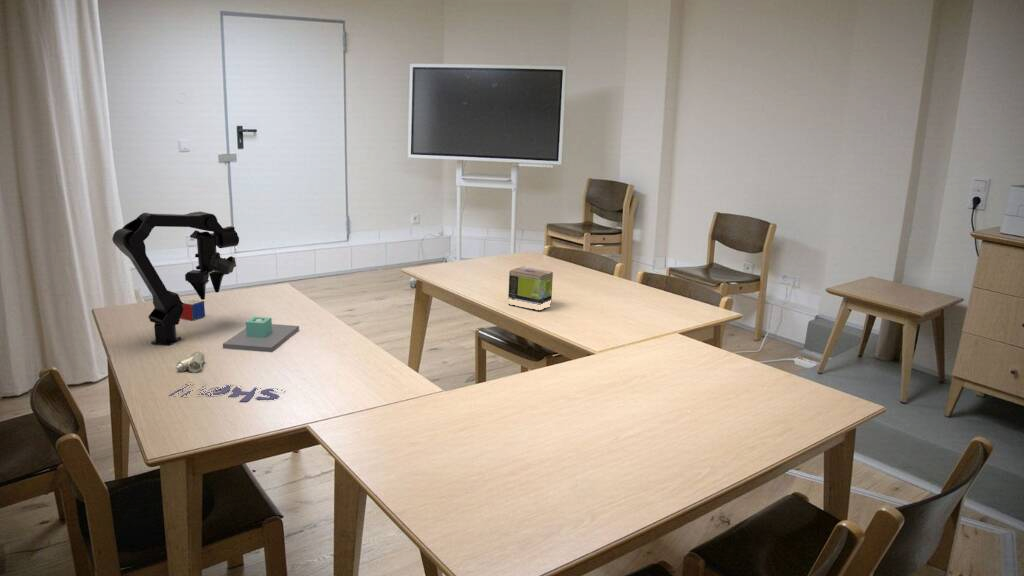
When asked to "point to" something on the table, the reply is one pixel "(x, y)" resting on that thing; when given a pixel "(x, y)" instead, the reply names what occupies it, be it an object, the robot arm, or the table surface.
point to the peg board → (262, 339)
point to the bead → (258, 327)
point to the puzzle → (193, 309)
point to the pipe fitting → (191, 362)
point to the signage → (237, 393)
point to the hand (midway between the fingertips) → (210, 295)
